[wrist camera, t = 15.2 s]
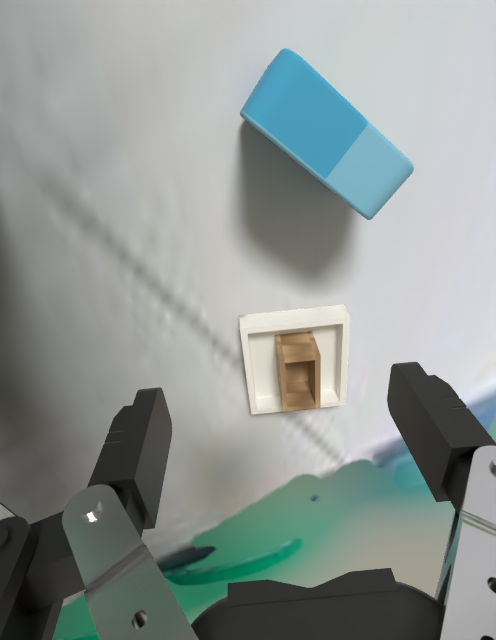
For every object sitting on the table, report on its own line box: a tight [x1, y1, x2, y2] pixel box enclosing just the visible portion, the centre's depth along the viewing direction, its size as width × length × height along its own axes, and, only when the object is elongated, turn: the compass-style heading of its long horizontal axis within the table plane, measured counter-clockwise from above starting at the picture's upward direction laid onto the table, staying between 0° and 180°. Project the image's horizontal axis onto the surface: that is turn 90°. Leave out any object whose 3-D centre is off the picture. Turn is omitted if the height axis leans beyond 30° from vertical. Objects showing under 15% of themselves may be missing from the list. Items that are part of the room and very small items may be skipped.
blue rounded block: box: [240, 49, 414, 220], centre depth 28 cm, size 12×4×12 cm, turn 54°
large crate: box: [239, 304, 350, 415], centre depth 45 cm, size 13×14×3 cm
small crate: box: [275, 331, 321, 412], centre depth 44 cm, size 5×8×5 cm, turn 6°
